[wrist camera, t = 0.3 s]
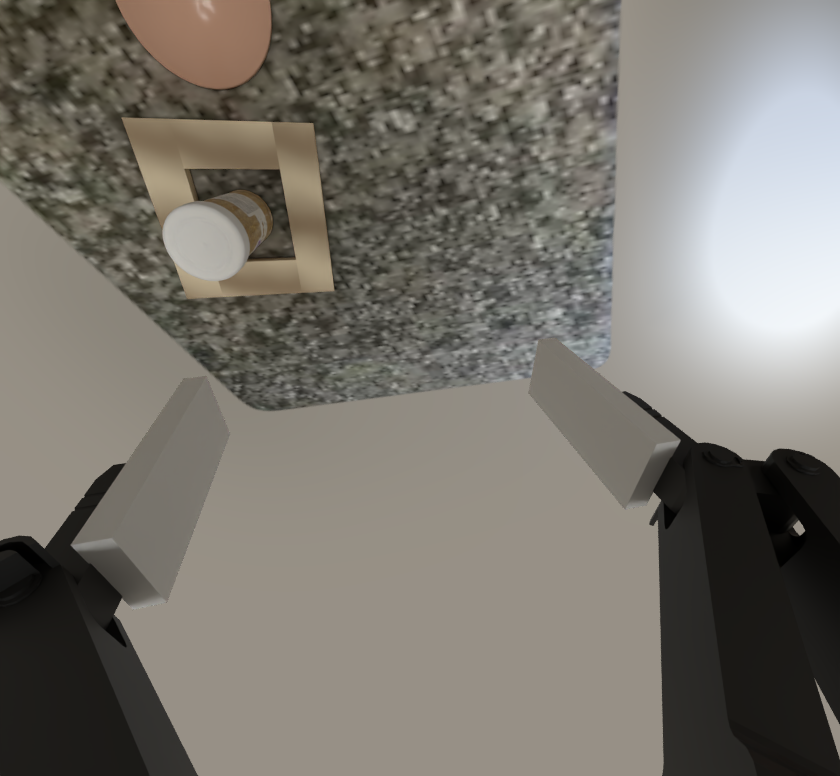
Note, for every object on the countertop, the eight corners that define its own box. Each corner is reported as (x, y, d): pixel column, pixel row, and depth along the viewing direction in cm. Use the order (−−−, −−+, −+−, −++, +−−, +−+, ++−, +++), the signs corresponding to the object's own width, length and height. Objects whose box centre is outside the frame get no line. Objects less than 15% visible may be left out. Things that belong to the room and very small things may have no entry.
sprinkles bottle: (263, 251, 34) (230, 295, 23) (213, 225, 32) (150, 259, 21) (281, 207, 33) (255, 232, 22) (229, 176, 31) (171, 186, 20)
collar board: (129, 119, 27) (121, 117, 26) (313, 124, 30) (313, 123, 29) (191, 294, 35) (187, 298, 34) (334, 287, 37) (334, 291, 36)
